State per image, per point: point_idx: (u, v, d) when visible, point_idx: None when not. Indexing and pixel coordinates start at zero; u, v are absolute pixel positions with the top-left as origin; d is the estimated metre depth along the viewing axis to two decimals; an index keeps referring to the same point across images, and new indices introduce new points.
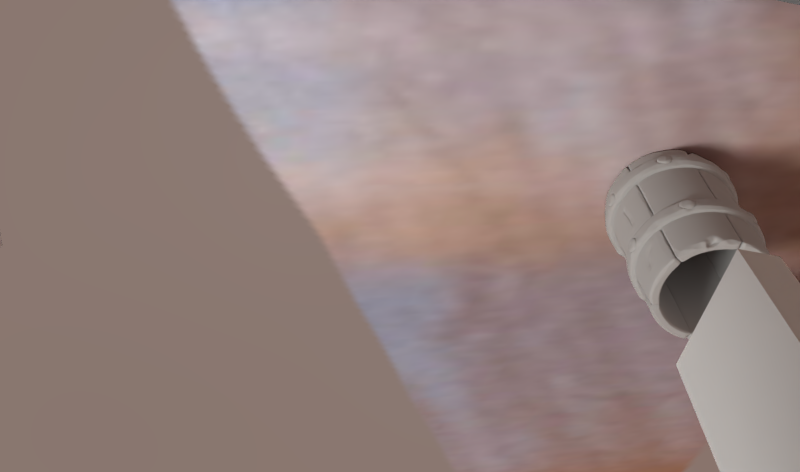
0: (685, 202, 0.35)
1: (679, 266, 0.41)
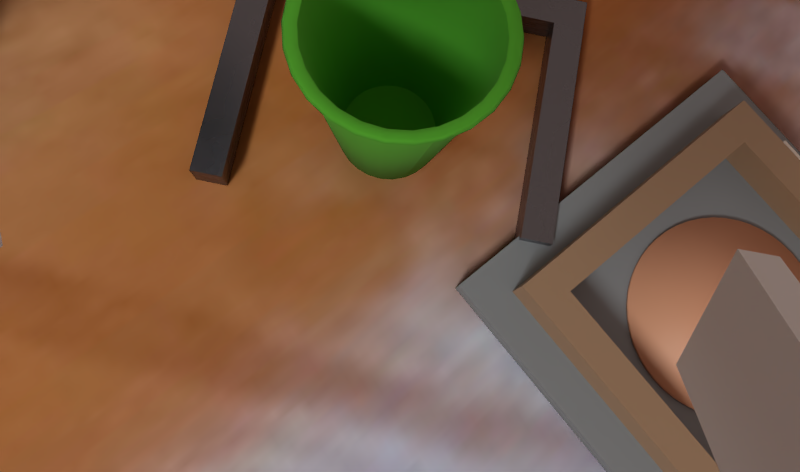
0: None
1: None
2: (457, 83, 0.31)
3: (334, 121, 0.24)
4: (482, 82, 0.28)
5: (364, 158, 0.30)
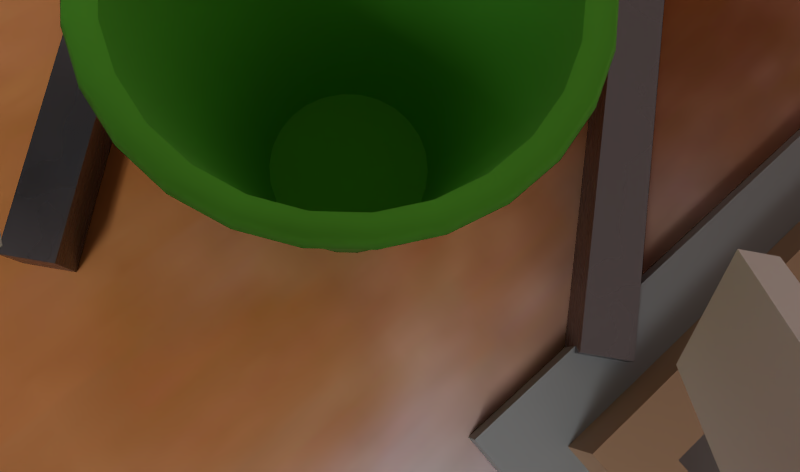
0: None
1: None
2: (464, 89, 0.17)
3: (180, 198, 0.10)
4: (518, 89, 0.14)
5: None
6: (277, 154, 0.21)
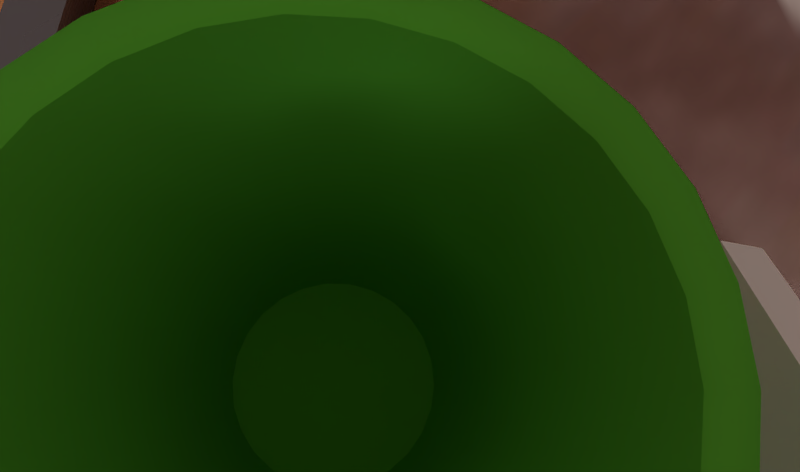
0: None
1: None
2: (484, 337, 0.13)
3: None
4: (572, 429, 0.09)
5: None
6: (243, 365, 0.16)
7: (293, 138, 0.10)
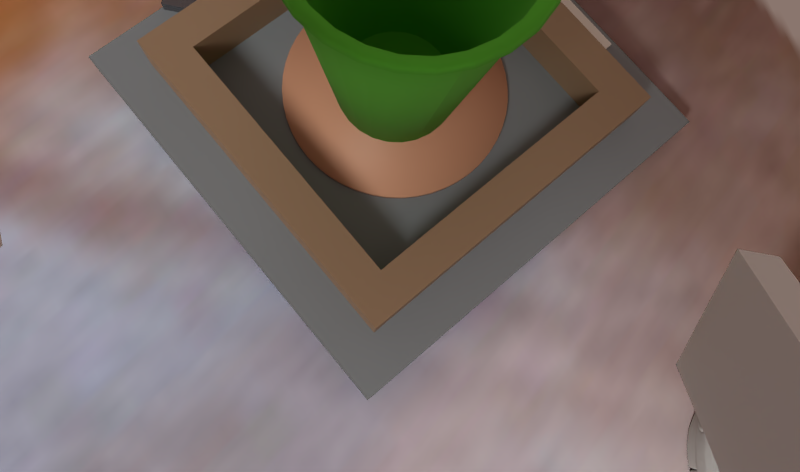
0: None
1: None
2: (480, 17, 0.25)
3: (330, 45, 0.18)
4: (516, 6, 0.22)
5: (368, 110, 0.24)
6: None
7: None
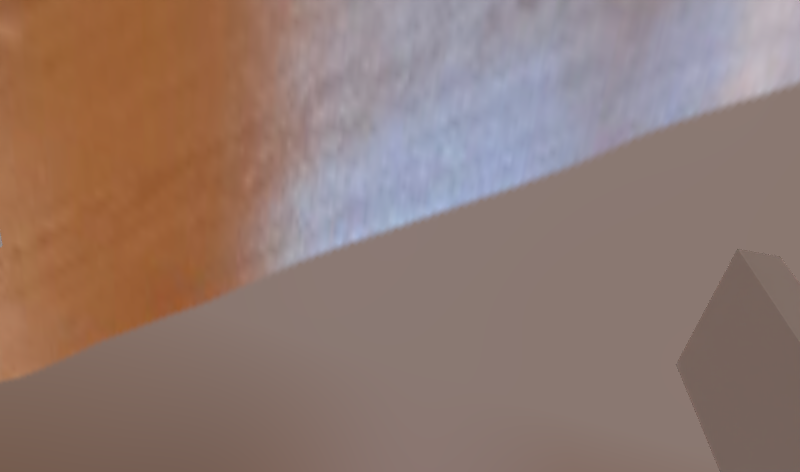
0: None
1: None
2: None
3: None
4: None
5: None
6: None
7: None
